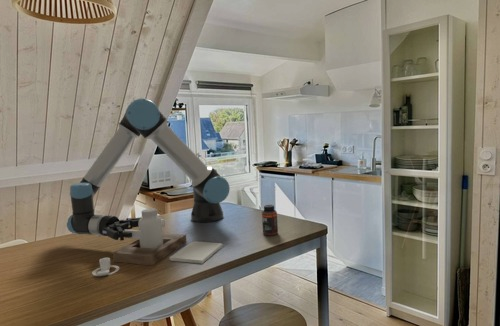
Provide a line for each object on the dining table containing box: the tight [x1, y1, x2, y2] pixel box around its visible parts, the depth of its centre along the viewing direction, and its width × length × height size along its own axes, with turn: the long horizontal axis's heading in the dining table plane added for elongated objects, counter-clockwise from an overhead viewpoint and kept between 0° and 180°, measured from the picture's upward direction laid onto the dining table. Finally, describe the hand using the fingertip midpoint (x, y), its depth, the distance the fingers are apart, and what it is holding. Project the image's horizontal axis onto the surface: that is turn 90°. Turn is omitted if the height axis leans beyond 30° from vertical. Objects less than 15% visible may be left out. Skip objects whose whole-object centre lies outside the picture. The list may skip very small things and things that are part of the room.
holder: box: [112, 232, 187, 266], centre depth 123 cm, size 22×15×3 cm
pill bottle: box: [138, 208, 163, 249], centre depth 123 cm, size 8×8×15 cm
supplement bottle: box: [261, 204, 279, 237], centre depth 136 cm, size 6×6×11 cm
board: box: [169, 240, 224, 264], centre depth 120 cm, size 16×12×1 cm
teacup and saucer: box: [91, 257, 121, 277], centre depth 108 cm, size 9×8×4 cm
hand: (153, 228), depth 122 cm, fingers open, 13 cm apart
